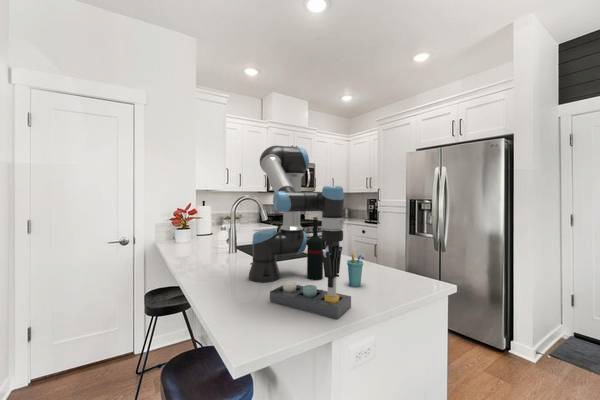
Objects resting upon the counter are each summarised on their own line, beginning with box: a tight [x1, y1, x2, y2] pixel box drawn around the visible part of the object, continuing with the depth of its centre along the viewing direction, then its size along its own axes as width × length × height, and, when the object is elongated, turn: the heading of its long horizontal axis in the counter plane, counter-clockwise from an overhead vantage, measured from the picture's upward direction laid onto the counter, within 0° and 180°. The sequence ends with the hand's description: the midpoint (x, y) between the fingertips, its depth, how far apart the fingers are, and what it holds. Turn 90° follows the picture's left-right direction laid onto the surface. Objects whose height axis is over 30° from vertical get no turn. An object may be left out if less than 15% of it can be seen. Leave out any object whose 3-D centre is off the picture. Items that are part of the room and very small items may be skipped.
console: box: [269, 284, 352, 320], centre depth 104 cm, size 28×12×4 cm, turn 59°
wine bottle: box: [306, 216, 324, 281], centre depth 138 cm, size 8×10×30 cm
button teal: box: [302, 284, 318, 298], centre depth 104 cm, size 5×5×4 cm
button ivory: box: [282, 280, 297, 293], centre depth 109 cm, size 5×5×4 cm
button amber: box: [324, 294, 339, 303], centre depth 100 cm, size 5×5×4 cm
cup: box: [346, 252, 365, 288], centre depth 126 cm, size 14×8×15 cm, turn 14°
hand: (331, 295), depth 99 cm, fingers closed
